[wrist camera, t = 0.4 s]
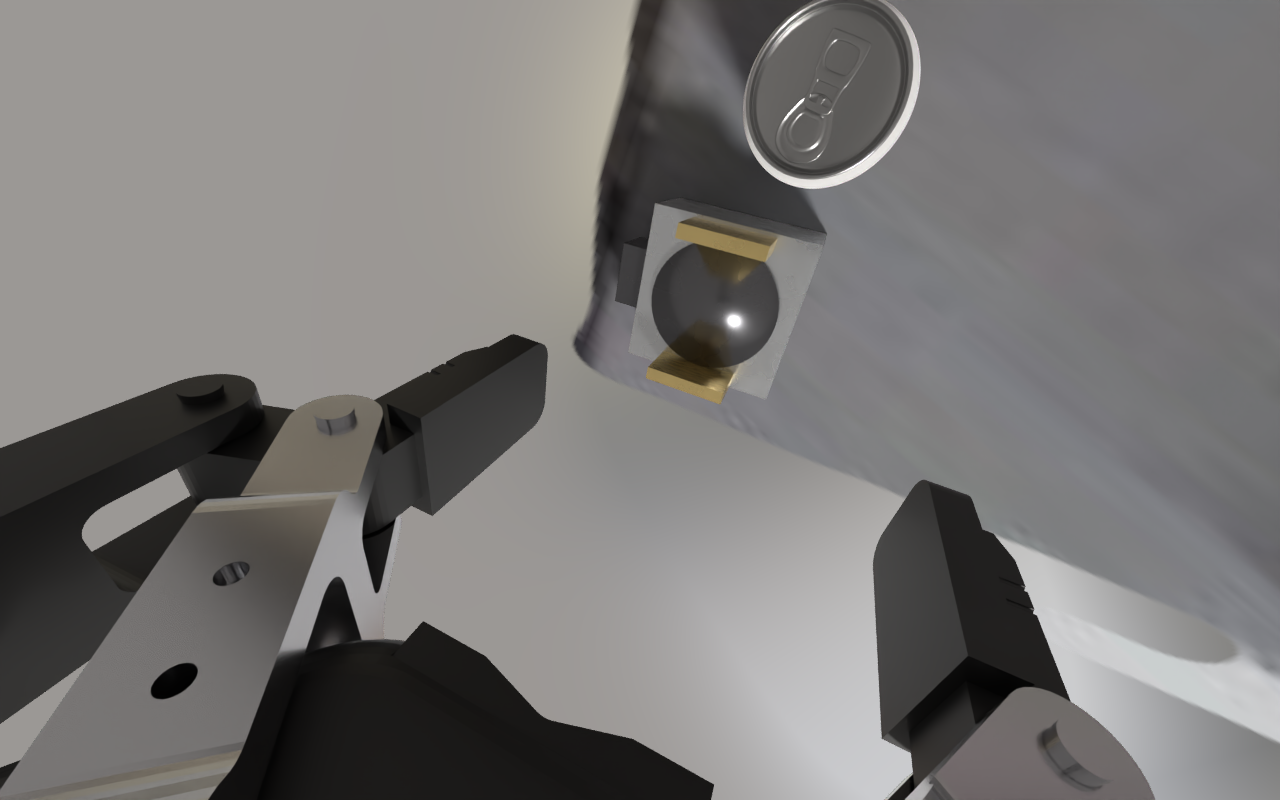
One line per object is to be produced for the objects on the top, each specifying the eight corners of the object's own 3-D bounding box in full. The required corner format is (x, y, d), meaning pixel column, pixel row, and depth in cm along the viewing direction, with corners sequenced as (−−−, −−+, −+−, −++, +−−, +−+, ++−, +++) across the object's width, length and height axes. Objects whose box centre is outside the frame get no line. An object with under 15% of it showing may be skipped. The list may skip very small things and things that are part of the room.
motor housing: (653, 191, 32) (603, 199, 25) (827, 233, 29) (821, 255, 22) (630, 323, 37) (583, 358, 30) (775, 370, 34) (758, 420, 28)
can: (754, 154, 29) (706, 151, 19) (812, 29, 25) (789, -56, 15) (850, 198, 28) (852, 220, 18) (923, 76, 24) (977, 17, 14)
